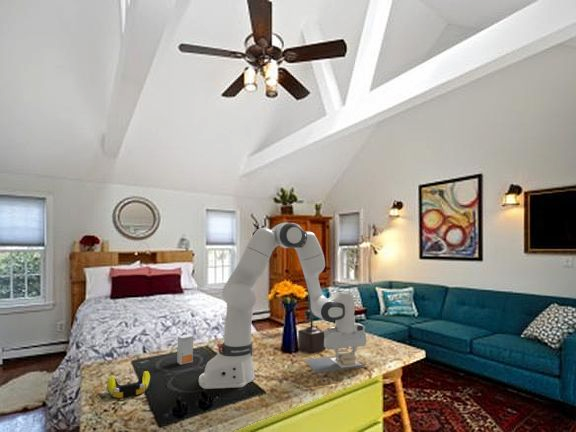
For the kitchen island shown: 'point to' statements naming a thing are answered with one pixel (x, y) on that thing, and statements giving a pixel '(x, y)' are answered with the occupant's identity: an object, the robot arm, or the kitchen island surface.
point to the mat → (329, 364)
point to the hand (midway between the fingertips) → (345, 357)
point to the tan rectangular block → (346, 357)
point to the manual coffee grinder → (311, 337)
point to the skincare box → (185, 349)
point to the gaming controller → (128, 386)
